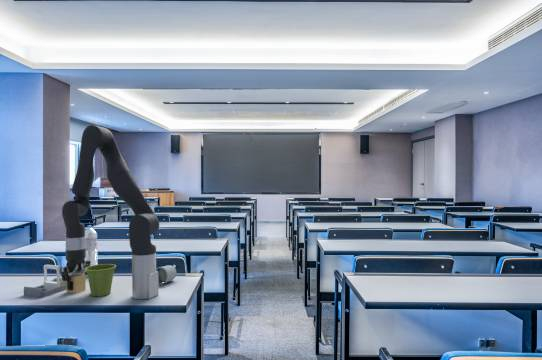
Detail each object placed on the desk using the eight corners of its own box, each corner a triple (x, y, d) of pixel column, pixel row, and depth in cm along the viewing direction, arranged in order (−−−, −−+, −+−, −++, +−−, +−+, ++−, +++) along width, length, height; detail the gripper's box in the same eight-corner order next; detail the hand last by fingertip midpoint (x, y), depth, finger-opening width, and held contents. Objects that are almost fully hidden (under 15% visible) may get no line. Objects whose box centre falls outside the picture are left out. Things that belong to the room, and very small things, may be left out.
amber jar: (85, 290, 157) (85, 272, 157) (76, 294, 153) (75, 274, 153) (76, 289, 159) (76, 271, 159) (66, 293, 154) (66, 274, 154)
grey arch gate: (60, 289, 157) (60, 265, 156) (57, 290, 155) (56, 266, 155) (46, 288, 159) (46, 264, 159) (43, 289, 157) (43, 265, 157)
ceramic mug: (177, 280, 173) (177, 263, 173) (167, 285, 165) (166, 267, 166) (158, 278, 177) (158, 262, 177) (147, 283, 169) (147, 266, 169)
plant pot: (122, 291, 156) (122, 265, 156) (99, 300, 145) (99, 271, 145) (102, 288, 161) (102, 262, 161) (78, 296, 150) (78, 268, 150)
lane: (75, 287, 162) (75, 278, 162) (42, 299, 147) (42, 288, 147) (57, 285, 166) (57, 276, 166) (23, 296, 150) (23, 286, 150)
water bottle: (91, 278, 177) (91, 226, 177) (78, 278, 179) (78, 226, 178) (100, 275, 184) (100, 224, 184) (88, 274, 185) (88, 224, 185)
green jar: (68, 286, 162) (68, 277, 162) (58, 290, 157) (58, 280, 157) (59, 285, 163) (59, 276, 163) (49, 289, 159) (49, 279, 159)
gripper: (68, 251, 148) (68, 294, 148) (95, 245, 162) (96, 284, 162) (54, 250, 150) (54, 292, 150) (82, 244, 164) (82, 283, 164)
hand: (76, 288), depth 156 cm, fingers closed on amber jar, 5 cm apart
